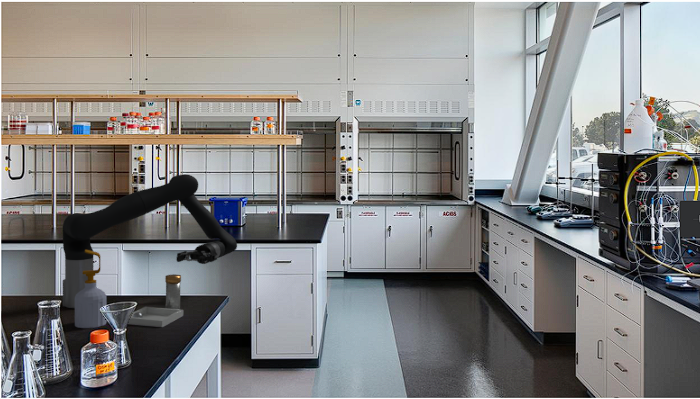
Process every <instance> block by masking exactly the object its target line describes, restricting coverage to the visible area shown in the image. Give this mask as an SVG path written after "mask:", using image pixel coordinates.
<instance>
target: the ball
mask: <svg viewBox="0 0 700 399" xmlns="http://www.w3.org/2000/svg"><path fill="white" fill-rule="evenodd" d="M133 317H135V318H143V315H142V313H140V312H137V313H135V314H134V315H133Z"/></svg>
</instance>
